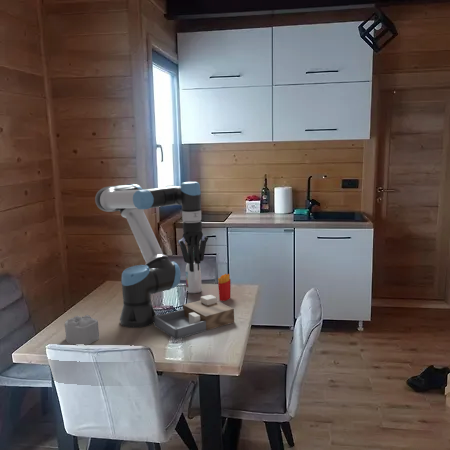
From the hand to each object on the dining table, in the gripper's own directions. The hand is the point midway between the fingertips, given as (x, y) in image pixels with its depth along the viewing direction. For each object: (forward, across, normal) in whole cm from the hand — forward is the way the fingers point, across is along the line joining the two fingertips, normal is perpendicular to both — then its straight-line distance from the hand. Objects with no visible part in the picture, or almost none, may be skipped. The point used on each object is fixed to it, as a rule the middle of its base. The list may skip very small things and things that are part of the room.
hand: (194, 278), depth 200 cm
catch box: (+21, -6, +3) cm, 22 cm away
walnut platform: (+21, +8, +4) cm, 22 cm away
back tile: (+15, +11, +8) cm, 20 cm away
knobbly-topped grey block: (+21, -43, +17) cm, 50 cm away
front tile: (+17, 0, -1) cm, 17 cm away
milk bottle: (+21, +22, +43) cm, 52 cm away
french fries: (+21, +28, +23) cm, 42 cm away
